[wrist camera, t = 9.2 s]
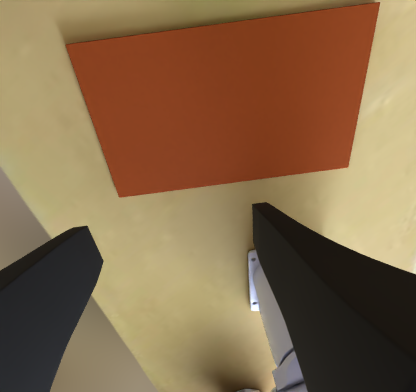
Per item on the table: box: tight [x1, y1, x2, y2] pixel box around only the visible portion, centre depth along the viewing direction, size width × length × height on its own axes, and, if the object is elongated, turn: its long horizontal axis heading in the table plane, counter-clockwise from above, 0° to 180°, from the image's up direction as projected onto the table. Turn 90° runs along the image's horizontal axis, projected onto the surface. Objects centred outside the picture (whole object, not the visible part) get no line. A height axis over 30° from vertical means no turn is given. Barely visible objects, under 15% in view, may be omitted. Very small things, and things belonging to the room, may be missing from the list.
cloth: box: [66, 2, 380, 198], centre depth 16 cm, size 11×20×1 cm, turn 97°
